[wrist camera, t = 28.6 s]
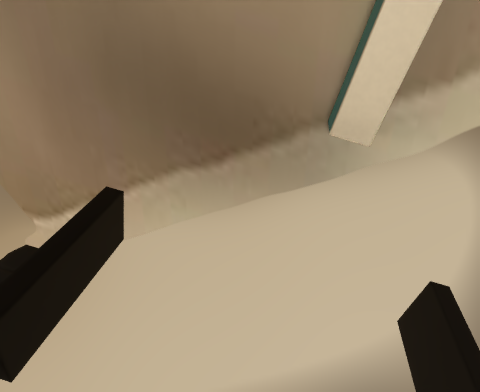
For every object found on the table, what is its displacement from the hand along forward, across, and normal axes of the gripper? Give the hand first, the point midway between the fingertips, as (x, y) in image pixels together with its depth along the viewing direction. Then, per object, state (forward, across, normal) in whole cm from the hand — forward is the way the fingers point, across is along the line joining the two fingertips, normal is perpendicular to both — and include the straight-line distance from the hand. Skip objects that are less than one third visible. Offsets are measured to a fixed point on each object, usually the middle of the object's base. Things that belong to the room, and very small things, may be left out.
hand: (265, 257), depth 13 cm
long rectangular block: (+28, +7, +9) cm, 30 cm away
